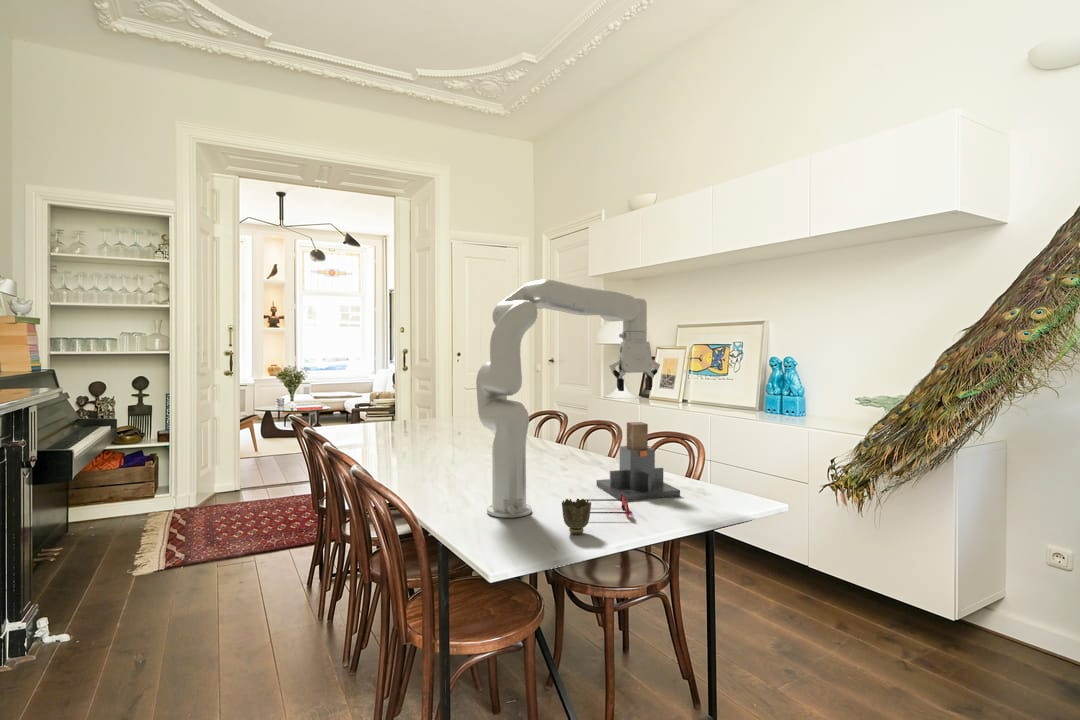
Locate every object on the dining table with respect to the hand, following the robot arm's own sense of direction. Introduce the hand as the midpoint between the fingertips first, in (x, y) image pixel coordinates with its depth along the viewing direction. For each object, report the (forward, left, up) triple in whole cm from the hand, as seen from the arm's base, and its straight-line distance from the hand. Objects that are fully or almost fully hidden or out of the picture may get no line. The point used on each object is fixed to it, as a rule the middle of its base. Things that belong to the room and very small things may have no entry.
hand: (634, 390), depth 193 cm
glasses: (-21, +20, -33) cm, 44 cm away
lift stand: (-1, -1, -33) cm, 33 cm away
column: (-1, -1, -29) cm, 30 cm away
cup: (-36, +32, -33) cm, 58 cm away
